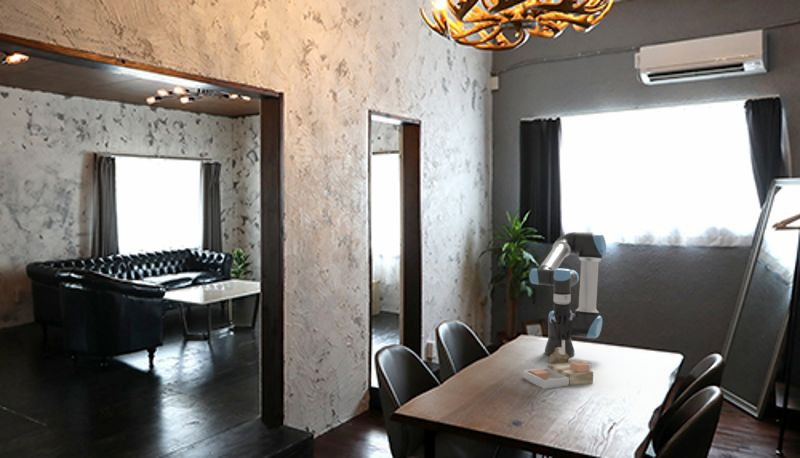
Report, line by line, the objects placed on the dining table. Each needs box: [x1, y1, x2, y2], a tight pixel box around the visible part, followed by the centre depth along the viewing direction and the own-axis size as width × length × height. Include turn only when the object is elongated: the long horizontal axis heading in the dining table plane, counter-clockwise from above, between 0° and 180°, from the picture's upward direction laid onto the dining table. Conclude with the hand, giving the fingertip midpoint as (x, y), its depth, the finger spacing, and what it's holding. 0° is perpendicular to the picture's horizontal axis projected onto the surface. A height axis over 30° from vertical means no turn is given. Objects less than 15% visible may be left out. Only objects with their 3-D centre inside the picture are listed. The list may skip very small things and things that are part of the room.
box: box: [522, 367, 570, 390], centre depth 255 cm, size 16×13×4 cm
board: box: [548, 361, 594, 386], centre depth 260 cm, size 16×12×5 cm
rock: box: [548, 347, 570, 366], centre depth 275 cm, size 11×12×10 cm
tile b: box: [569, 360, 591, 372], centre depth 256 cm, size 6×6×3 cm
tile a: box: [529, 368, 549, 380], centre depth 259 cm, size 6×6×3 cm
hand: (561, 353), depth 263 cm, fingers closed
